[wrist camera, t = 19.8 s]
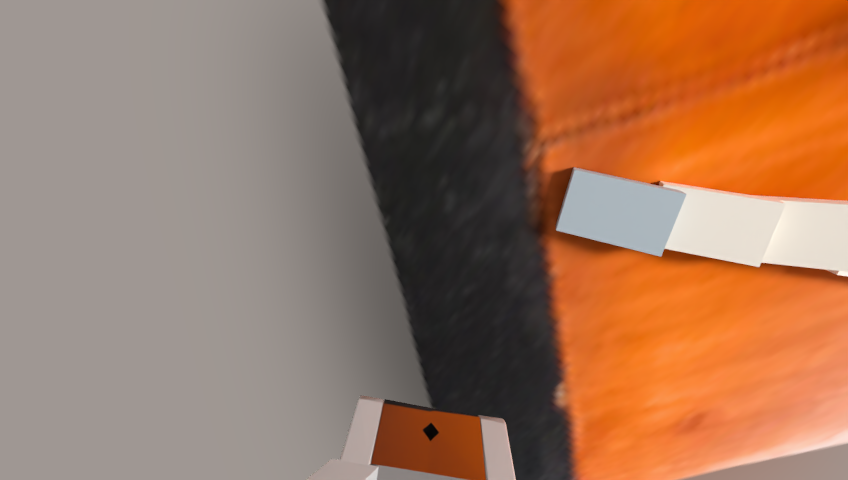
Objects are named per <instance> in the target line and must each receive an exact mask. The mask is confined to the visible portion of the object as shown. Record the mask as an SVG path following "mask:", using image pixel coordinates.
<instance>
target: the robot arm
mask: <svg viewBox="0 0 848 480" xmlns="http://www.w3.org/2000/svg"><path fill="white" fill-rule="evenodd" d="M306 480H516V479H515V473H514V468H513V462H512V456H511V451H510V445H509V439H508V434H507V428H506V423H505V421H504V420H503V419H501V418H494V417H487V416H481V415H479V416H477V415H471V414H465V413H458V412H452V411H446V410H439V409H433V408H428V407H422V406H417V405H411V404H407V403H401V402H396V401H390V400H385V401H384V400H383V399H378V398H373V397H367V396H362V395H360V397H359V399H358V401H357V404H356V407H355V411H354V414H353V417H352V420H351V424H350V427H349V430H348V434H347V437H346V440H345V444H344V447H343V450H342V454H341V457H340V460H337V459H331V460H330V461H328V462H327V463H326V464H325V465H323V466H322V467H321V468H320V469H318V470H317V471H316V472H315V473H313V474H312V475H311V476H310V477H308V478H307V479H306Z"/></svg>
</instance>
